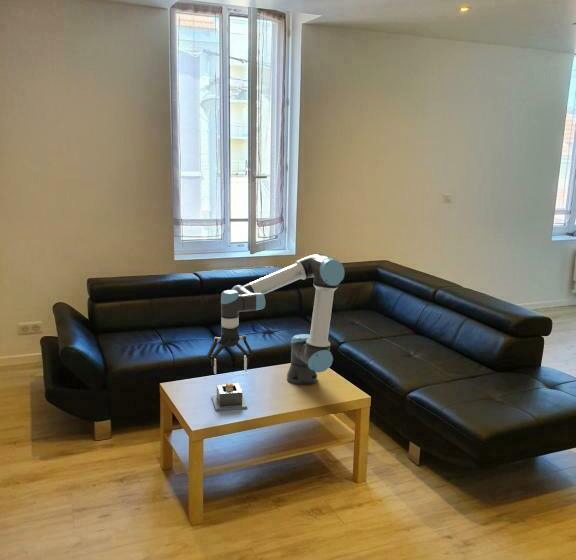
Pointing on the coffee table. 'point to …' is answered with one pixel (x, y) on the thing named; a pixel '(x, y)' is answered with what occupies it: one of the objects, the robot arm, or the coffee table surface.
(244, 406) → the keeper
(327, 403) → the coffee table surface
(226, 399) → the hollow square block
